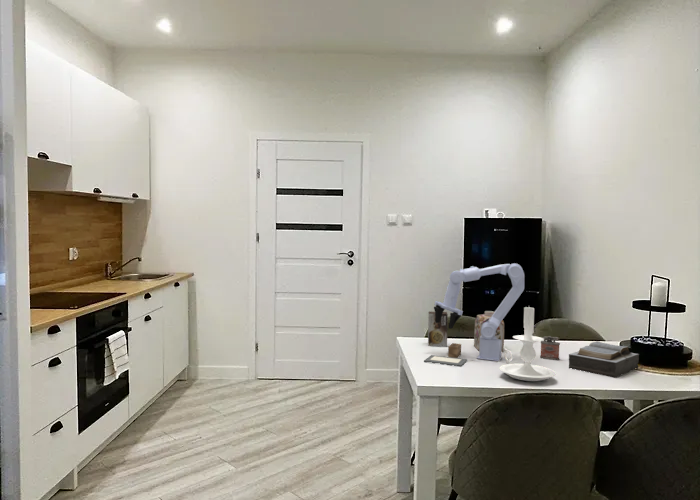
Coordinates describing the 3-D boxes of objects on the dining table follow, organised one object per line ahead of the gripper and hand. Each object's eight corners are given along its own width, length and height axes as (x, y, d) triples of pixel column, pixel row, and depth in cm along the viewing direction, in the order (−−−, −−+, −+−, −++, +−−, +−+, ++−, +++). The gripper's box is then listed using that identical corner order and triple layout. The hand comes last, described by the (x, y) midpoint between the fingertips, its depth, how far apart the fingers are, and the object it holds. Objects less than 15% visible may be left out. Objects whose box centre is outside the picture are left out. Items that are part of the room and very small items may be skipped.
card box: (460, 355, 246) (461, 344, 245) (456, 358, 238) (457, 347, 238) (452, 354, 247) (452, 343, 247) (448, 357, 240) (448, 346, 240)
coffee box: (446, 344, 268) (447, 311, 268) (447, 346, 262) (448, 313, 261) (427, 343, 269) (428, 311, 269) (428, 346, 263) (429, 312, 262)
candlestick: (524, 367, 225) (526, 300, 224) (567, 383, 202) (570, 308, 201) (482, 370, 218) (484, 301, 217) (522, 388, 195) (524, 310, 194)
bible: (649, 372, 223) (650, 348, 223) (610, 380, 209) (611, 354, 209) (598, 359, 243) (599, 338, 243) (558, 366, 229) (559, 343, 229)
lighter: (539, 358, 242) (540, 336, 242) (540, 356, 245) (541, 334, 245) (558, 360, 238) (559, 338, 238) (559, 359, 241) (560, 336, 241)
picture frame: (467, 360, 235) (467, 358, 234) (461, 366, 224) (461, 364, 224) (431, 356, 241) (431, 354, 241) (423, 362, 230) (423, 360, 230)
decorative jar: (503, 352, 253) (505, 313, 253) (478, 351, 254) (480, 313, 253) (497, 346, 265) (498, 310, 265) (473, 346, 265) (474, 309, 265)
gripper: (433, 291, 246) (426, 319, 247) (459, 300, 235) (450, 330, 237) (443, 292, 251) (435, 320, 252) (468, 301, 240) (460, 330, 241)
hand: (443, 325), depth 245 cm, fingers open, 7 cm apart
